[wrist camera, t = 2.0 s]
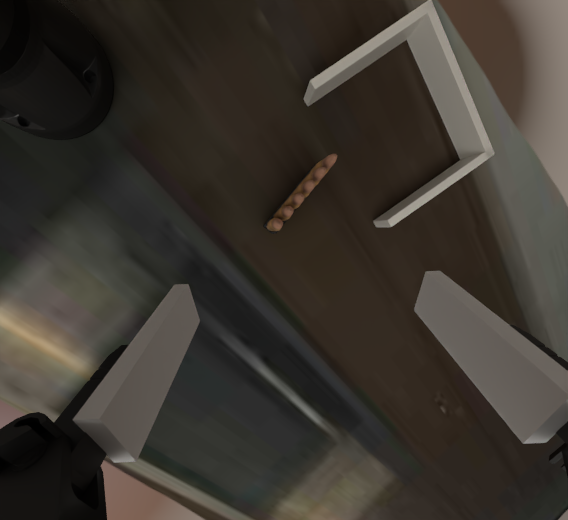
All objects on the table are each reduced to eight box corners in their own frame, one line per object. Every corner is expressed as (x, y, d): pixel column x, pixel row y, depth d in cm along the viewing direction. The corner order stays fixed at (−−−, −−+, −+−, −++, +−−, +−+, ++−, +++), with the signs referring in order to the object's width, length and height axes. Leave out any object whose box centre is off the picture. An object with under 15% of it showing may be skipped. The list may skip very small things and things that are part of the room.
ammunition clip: (307, 172, 33) (335, 141, 21) (316, 180, 33) (348, 154, 21) (263, 226, 33) (266, 224, 21) (272, 233, 34) (280, 236, 22)
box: (303, 99, 31) (310, 80, 27) (409, 27, 32) (430, -2, 28) (376, 227, 36) (391, 227, 32) (468, 162, 36) (494, 154, 32)
